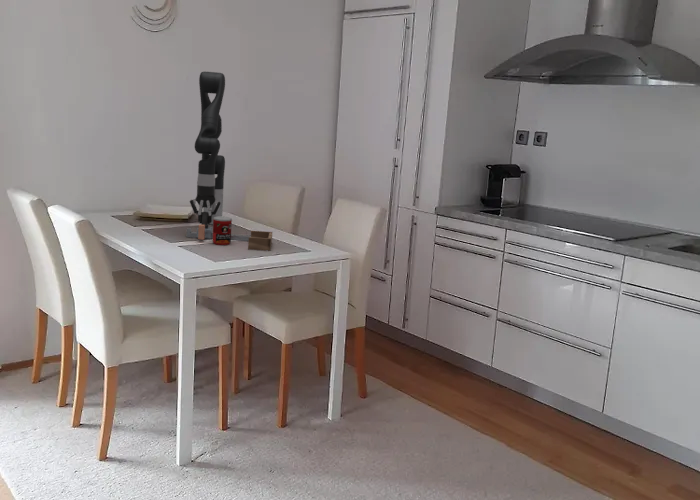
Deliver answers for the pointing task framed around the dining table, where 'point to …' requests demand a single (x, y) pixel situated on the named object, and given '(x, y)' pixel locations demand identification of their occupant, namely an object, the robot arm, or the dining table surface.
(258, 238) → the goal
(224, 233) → the canned food
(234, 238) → the rail
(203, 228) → the grey block with post
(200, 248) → the dining table surface
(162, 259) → the dining table surface
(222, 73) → the robot arm
